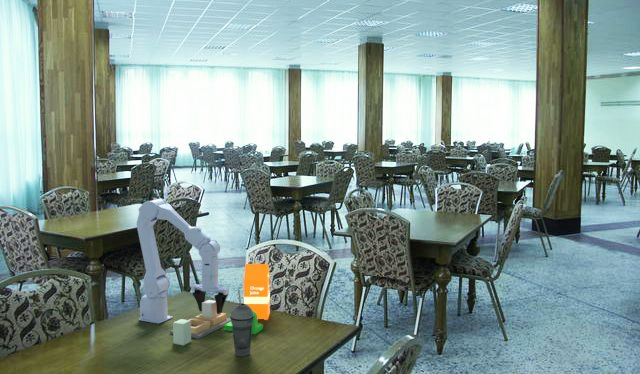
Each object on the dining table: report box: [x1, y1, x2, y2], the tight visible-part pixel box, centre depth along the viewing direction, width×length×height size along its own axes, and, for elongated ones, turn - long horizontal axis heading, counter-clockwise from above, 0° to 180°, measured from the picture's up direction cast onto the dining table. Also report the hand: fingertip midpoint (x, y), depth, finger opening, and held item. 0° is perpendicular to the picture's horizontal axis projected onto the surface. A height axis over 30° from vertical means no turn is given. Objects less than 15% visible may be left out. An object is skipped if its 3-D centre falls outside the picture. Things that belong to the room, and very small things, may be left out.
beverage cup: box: [229, 288, 254, 357], centre depth 178 cm, size 7×7×20 cm
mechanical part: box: [223, 310, 264, 335], centre depth 201 cm, size 12×6×8 cm, turn 69°
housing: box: [169, 312, 231, 340], centre depth 203 cm, size 12×20×3 cm, turn 155°
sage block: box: [172, 318, 192, 346], centre depth 188 cm, size 4×4×7 cm
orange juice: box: [243, 263, 271, 321], centre depth 215 cm, size 8×9×20 cm
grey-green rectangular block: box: [201, 299, 218, 319], centre depth 207 cm, size 4×4×7 cm
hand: (210, 311), depth 207 cm, fingers open, 7 cm apart
